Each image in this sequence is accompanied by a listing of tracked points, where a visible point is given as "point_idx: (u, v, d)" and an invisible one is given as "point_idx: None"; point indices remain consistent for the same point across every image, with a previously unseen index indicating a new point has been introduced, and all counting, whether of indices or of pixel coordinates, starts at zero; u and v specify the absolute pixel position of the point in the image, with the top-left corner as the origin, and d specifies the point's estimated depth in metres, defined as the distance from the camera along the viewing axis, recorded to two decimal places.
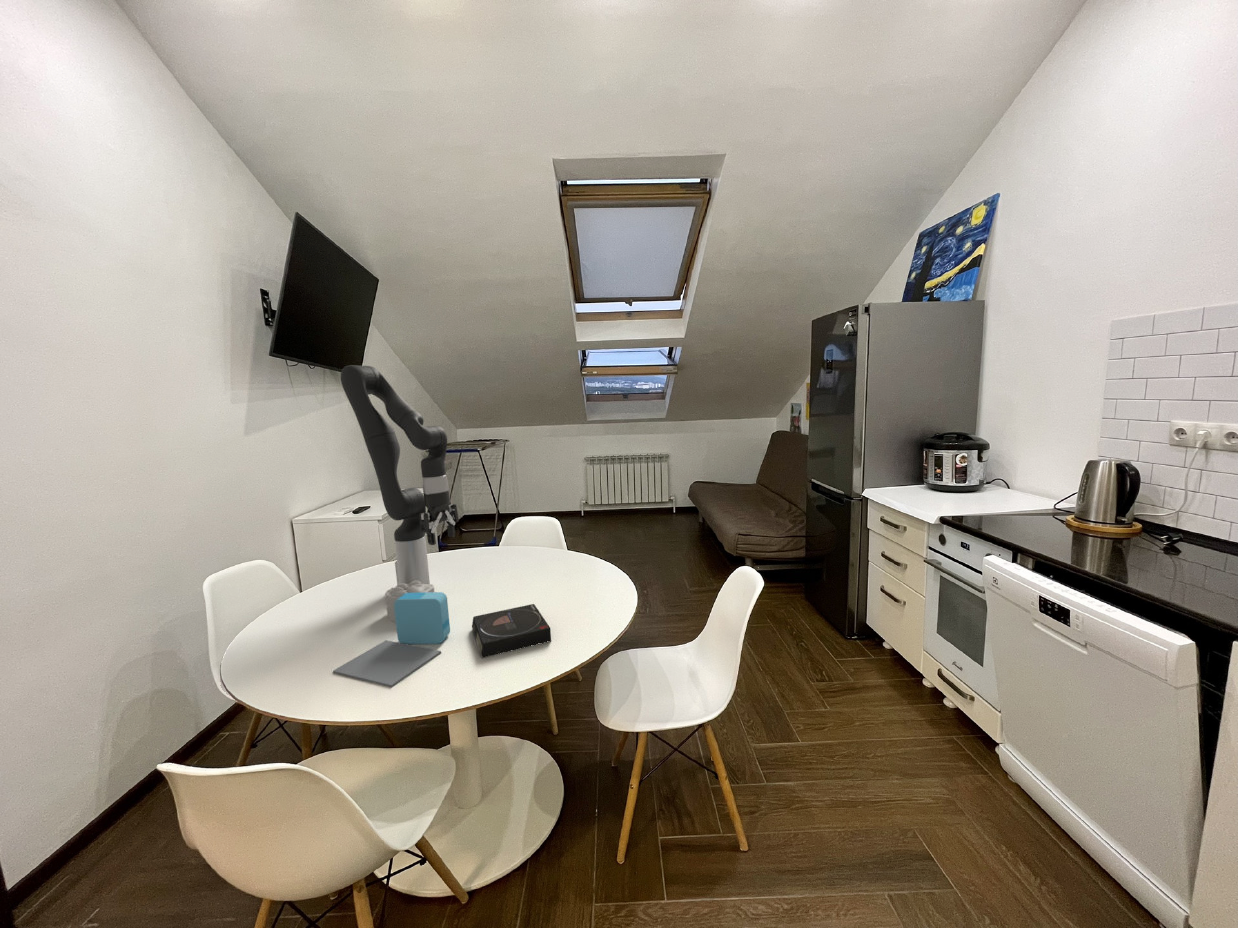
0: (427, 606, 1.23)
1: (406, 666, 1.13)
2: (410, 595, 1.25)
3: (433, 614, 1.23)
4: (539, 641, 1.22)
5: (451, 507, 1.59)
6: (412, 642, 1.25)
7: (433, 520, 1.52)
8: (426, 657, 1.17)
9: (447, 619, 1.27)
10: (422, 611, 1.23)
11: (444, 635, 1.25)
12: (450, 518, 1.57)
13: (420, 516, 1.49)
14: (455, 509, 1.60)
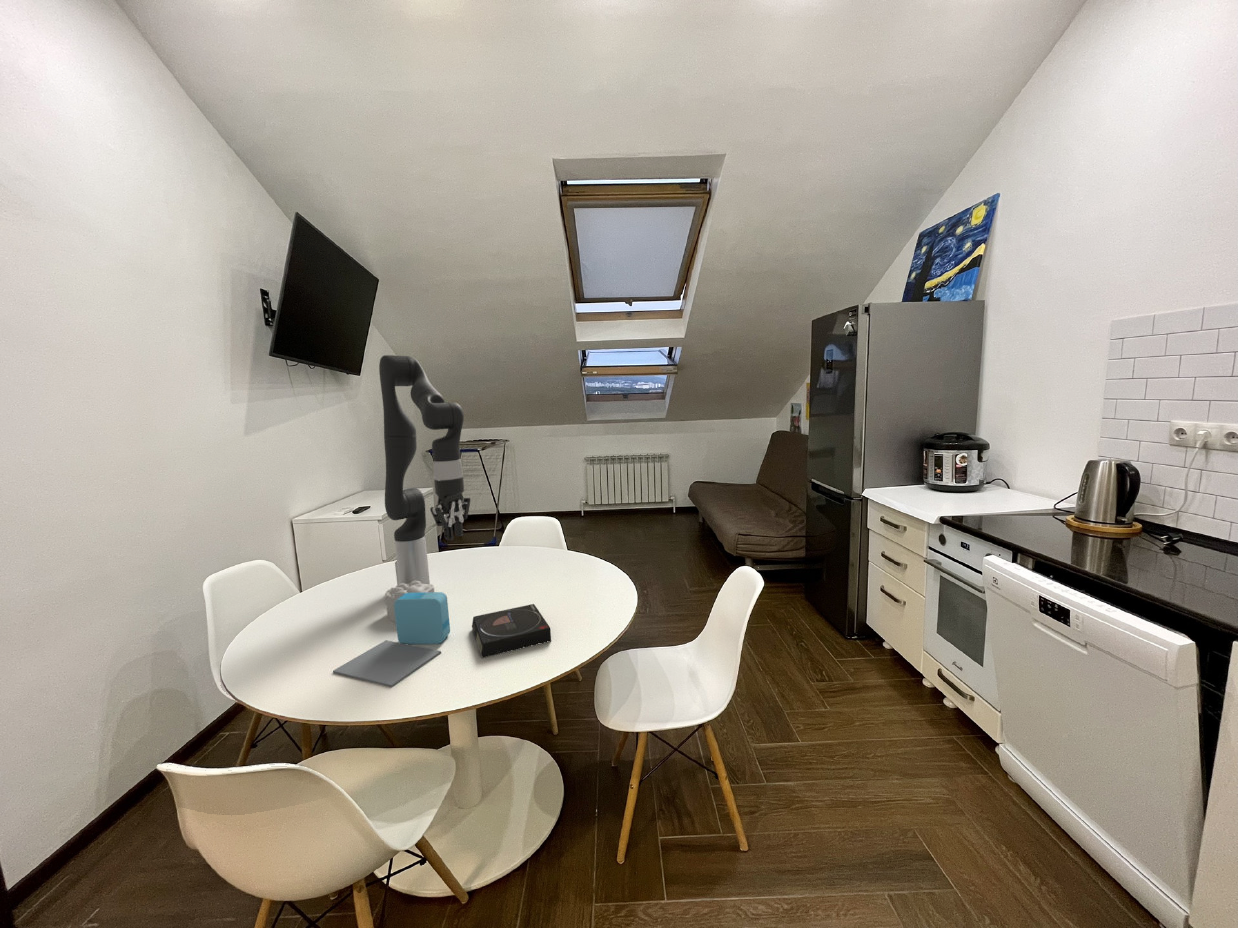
0: (427, 606, 1.23)
1: (406, 666, 1.13)
2: (411, 595, 1.25)
3: (433, 614, 1.23)
4: (539, 641, 1.22)
5: (464, 500, 1.40)
6: (412, 642, 1.25)
7: None
8: (426, 657, 1.17)
9: (447, 619, 1.27)
10: (422, 611, 1.23)
11: (444, 635, 1.25)
12: (461, 511, 1.36)
13: (432, 511, 1.30)
14: (468, 503, 1.40)
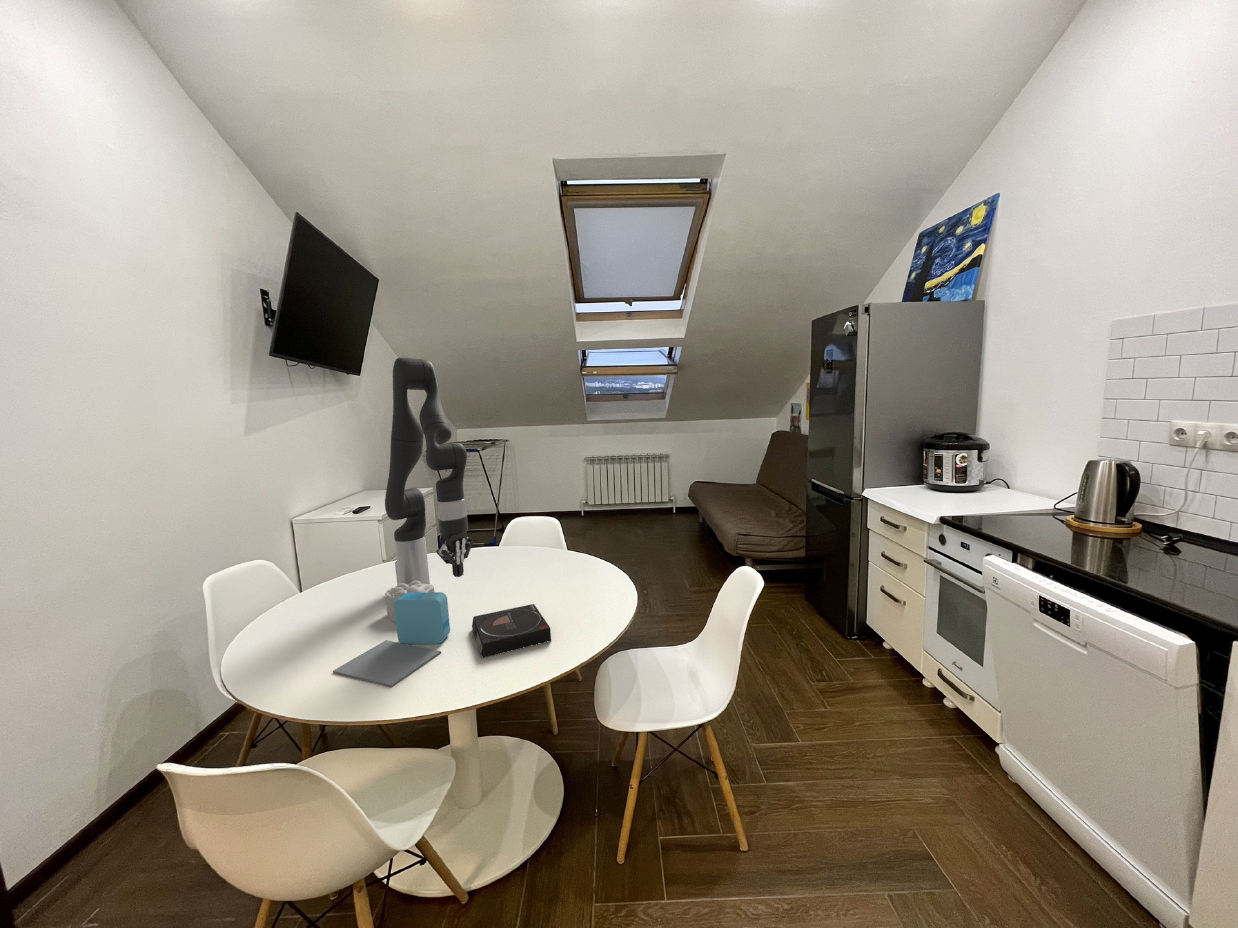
0: (427, 606, 1.23)
1: (406, 666, 1.13)
2: (411, 595, 1.25)
3: (433, 614, 1.23)
4: (539, 641, 1.22)
5: (467, 539, 1.41)
6: (412, 642, 1.25)
7: None
8: (426, 657, 1.17)
9: (447, 619, 1.27)
10: (422, 611, 1.23)
11: (444, 635, 1.25)
12: (463, 550, 1.37)
13: (438, 554, 1.32)
14: (470, 543, 1.41)
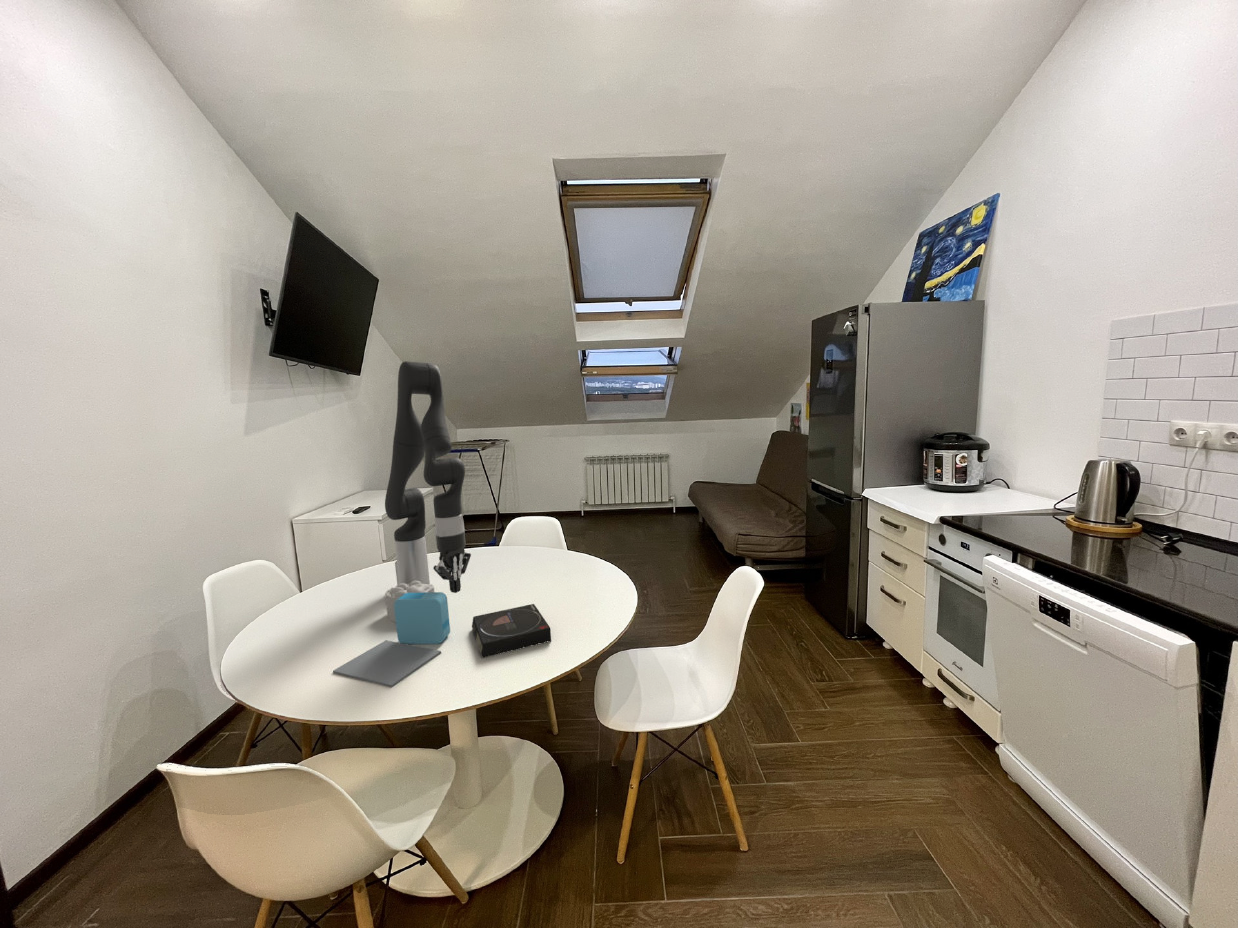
0: (427, 606, 1.23)
1: (406, 666, 1.13)
2: (410, 595, 1.25)
3: (433, 614, 1.23)
4: (539, 641, 1.22)
5: (465, 554, 1.40)
6: (412, 642, 1.25)
7: None
8: (426, 657, 1.17)
9: (447, 619, 1.27)
10: (422, 611, 1.23)
11: (444, 635, 1.25)
12: (460, 566, 1.36)
13: (435, 570, 1.31)
14: (468, 559, 1.40)
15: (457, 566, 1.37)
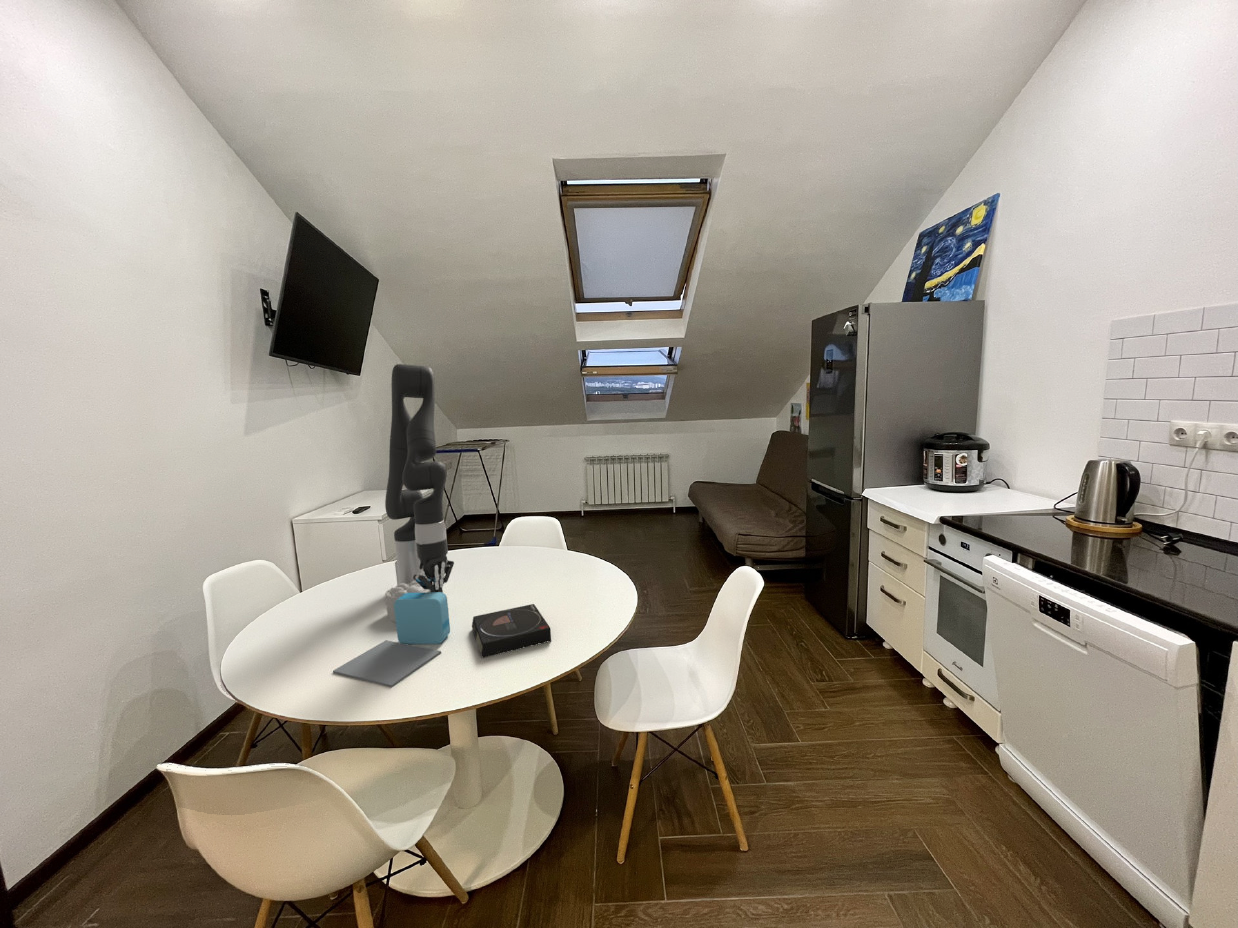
0: (427, 606, 1.23)
1: (406, 666, 1.13)
2: (410, 595, 1.25)
3: (433, 614, 1.23)
4: (539, 641, 1.22)
5: (447, 562, 1.33)
6: (412, 642, 1.25)
7: None
8: (426, 657, 1.17)
9: (447, 619, 1.27)
10: (422, 611, 1.23)
11: (444, 635, 1.25)
12: (442, 575, 1.30)
13: (415, 579, 1.24)
14: (450, 567, 1.33)
15: (439, 575, 1.31)
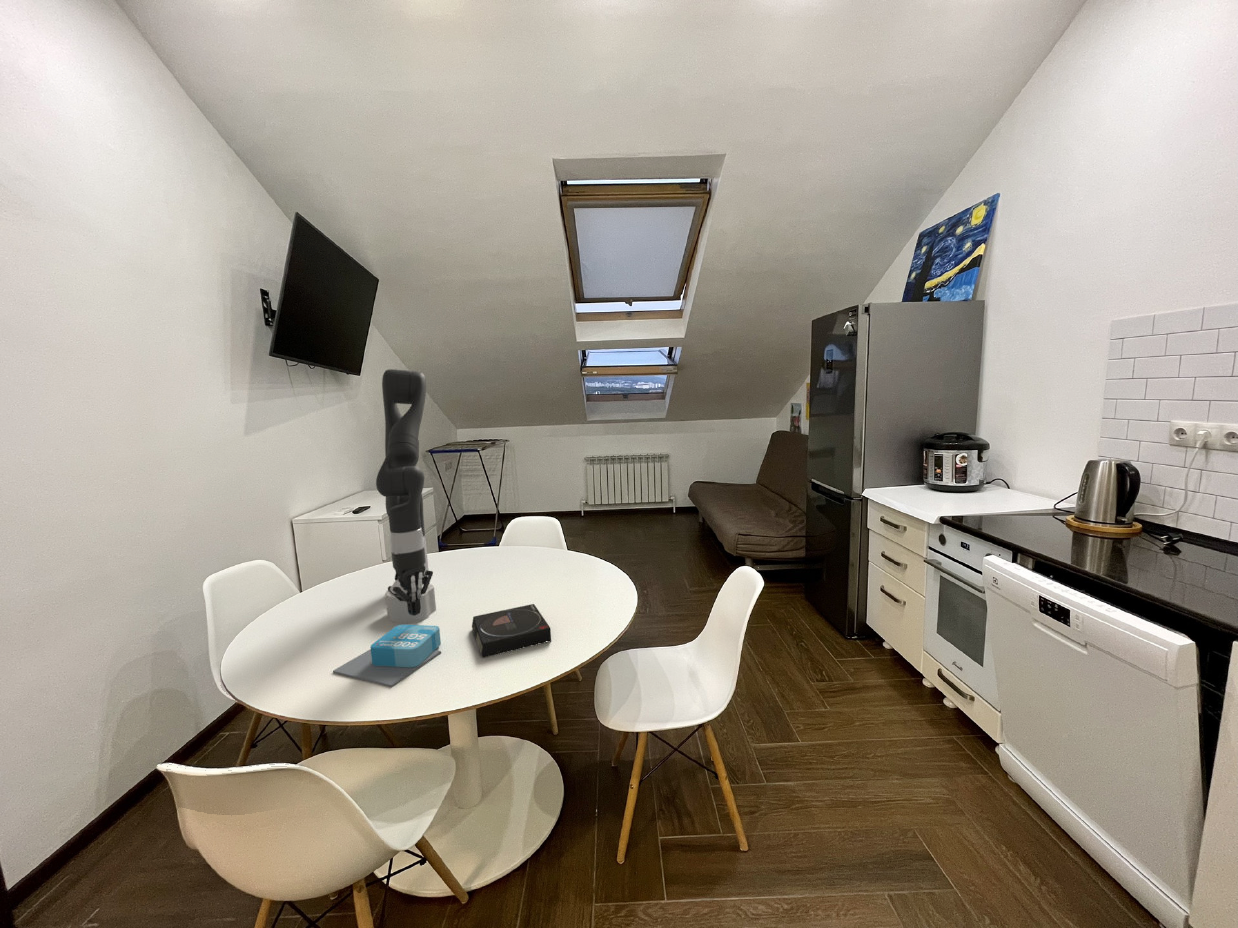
0: None
1: None
2: (382, 657, 1.13)
3: None
4: (539, 641, 1.22)
5: (426, 572, 1.26)
6: None
7: None
8: None
9: (431, 639, 1.19)
10: None
11: (439, 643, 1.22)
12: (419, 586, 1.23)
13: (390, 591, 1.17)
14: (429, 577, 1.26)
15: None
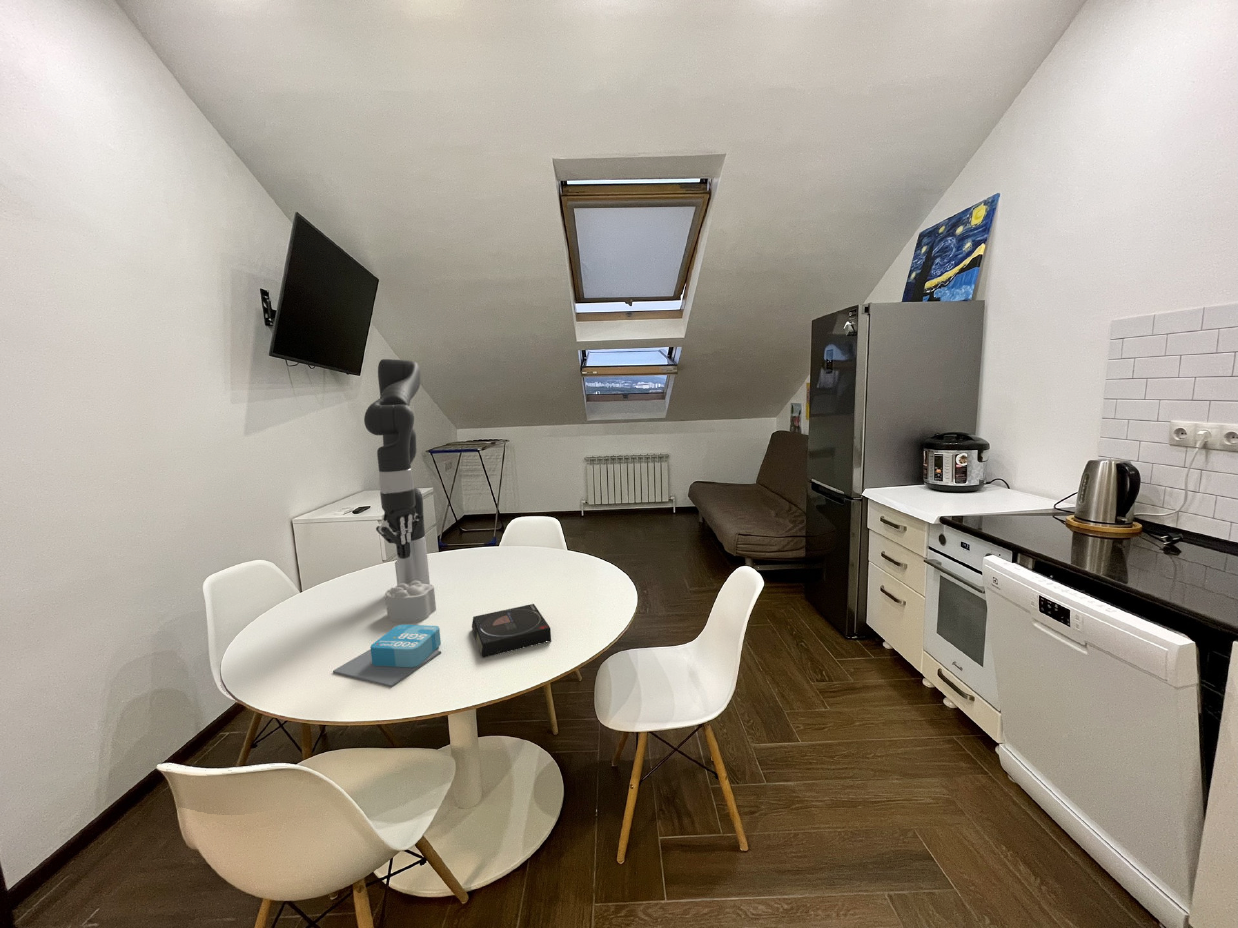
0: None
1: None
2: (382, 657, 1.13)
3: None
4: (539, 641, 1.22)
5: (416, 516, 1.24)
6: None
7: None
8: None
9: (431, 639, 1.19)
10: None
11: (439, 643, 1.22)
12: (409, 529, 1.20)
13: (378, 531, 1.15)
14: (419, 521, 1.24)
15: None
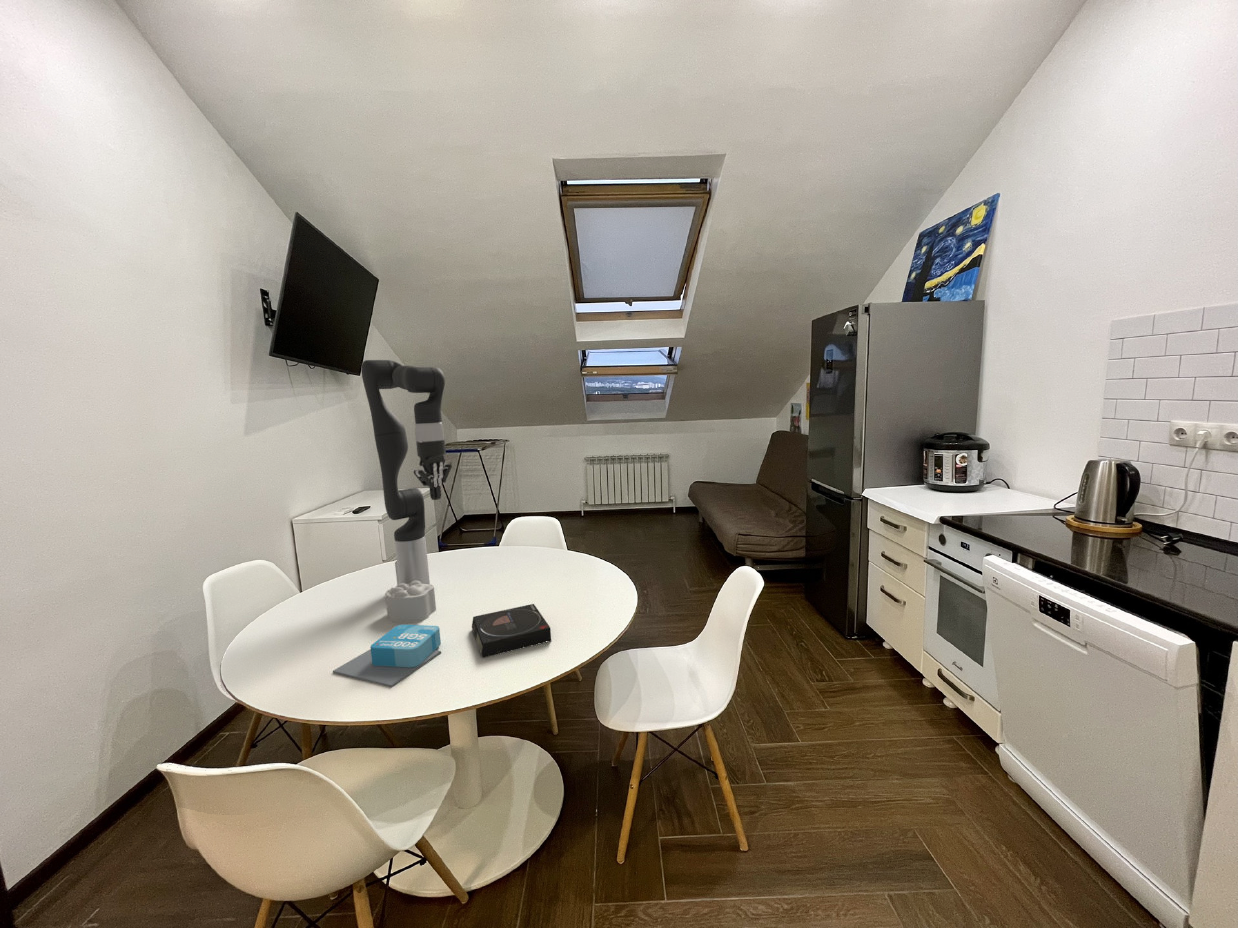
0: None
1: None
2: (382, 657, 1.13)
3: None
4: (539, 641, 1.22)
5: (445, 465, 1.44)
6: None
7: None
8: None
9: (431, 639, 1.19)
10: None
11: (439, 643, 1.22)
12: (440, 474, 1.40)
13: (415, 474, 1.35)
14: (448, 469, 1.44)
15: None
